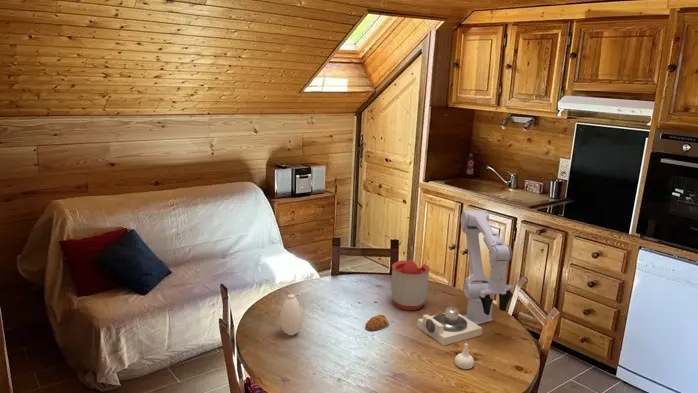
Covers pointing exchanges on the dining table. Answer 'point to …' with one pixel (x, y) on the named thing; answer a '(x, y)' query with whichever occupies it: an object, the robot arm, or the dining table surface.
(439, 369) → the dining table surface
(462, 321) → the pan
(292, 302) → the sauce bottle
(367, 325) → the pastry
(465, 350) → the garlic bulb
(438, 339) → the base
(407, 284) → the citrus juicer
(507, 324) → the dining table surface
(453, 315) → the cylinder
